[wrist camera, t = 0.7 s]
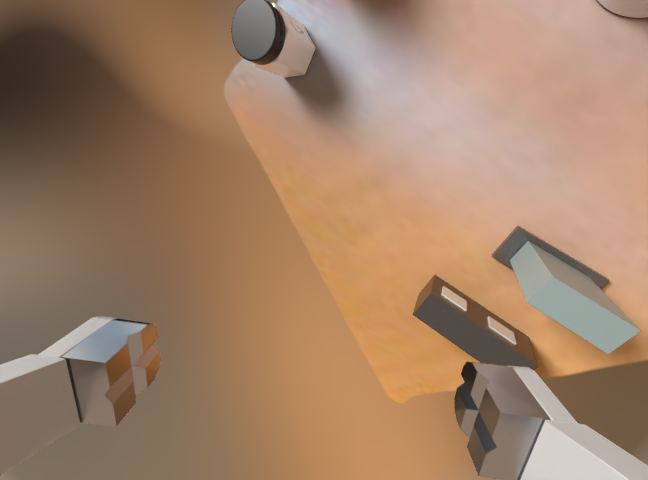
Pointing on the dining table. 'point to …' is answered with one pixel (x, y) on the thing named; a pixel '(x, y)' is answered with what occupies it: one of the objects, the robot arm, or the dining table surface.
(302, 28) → the jar
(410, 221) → the dining table surface
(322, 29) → the dining table surface
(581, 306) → the block
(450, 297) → the block
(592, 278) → the rail
